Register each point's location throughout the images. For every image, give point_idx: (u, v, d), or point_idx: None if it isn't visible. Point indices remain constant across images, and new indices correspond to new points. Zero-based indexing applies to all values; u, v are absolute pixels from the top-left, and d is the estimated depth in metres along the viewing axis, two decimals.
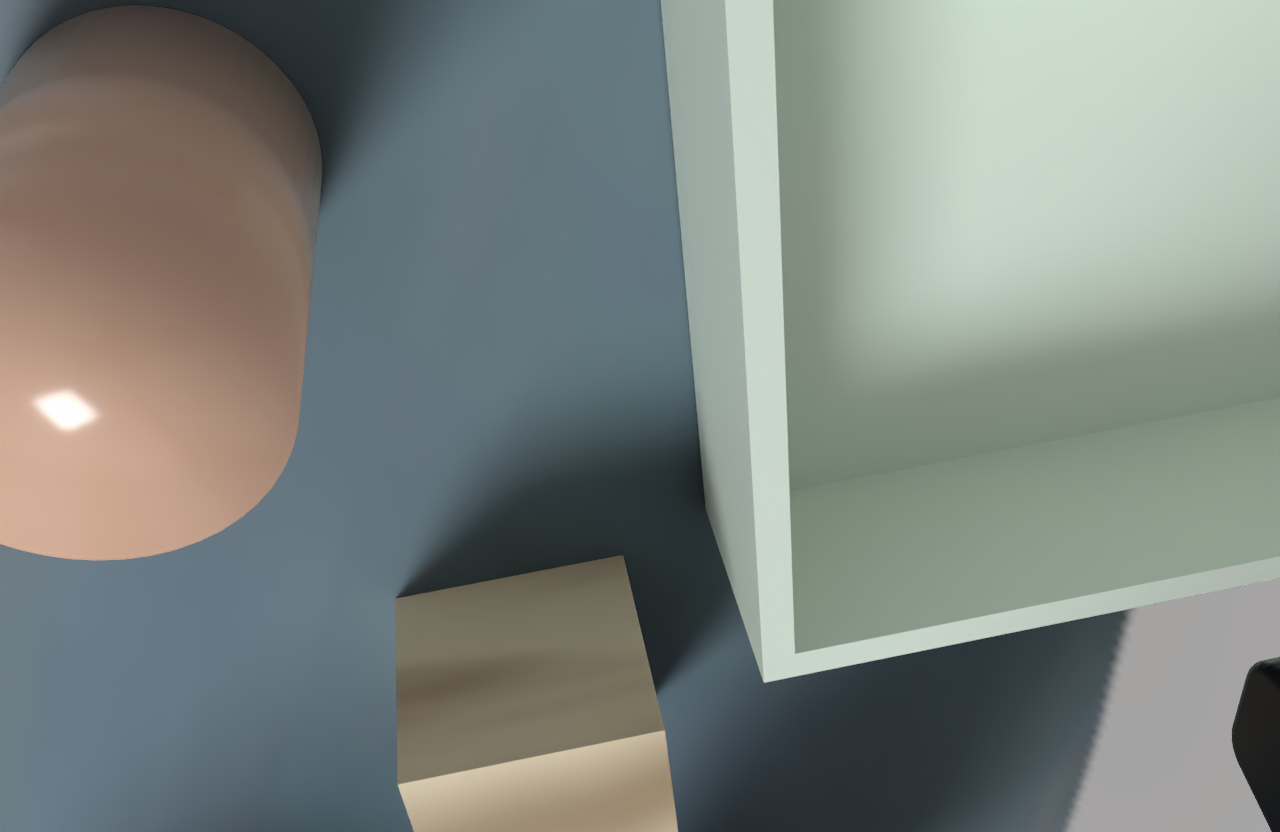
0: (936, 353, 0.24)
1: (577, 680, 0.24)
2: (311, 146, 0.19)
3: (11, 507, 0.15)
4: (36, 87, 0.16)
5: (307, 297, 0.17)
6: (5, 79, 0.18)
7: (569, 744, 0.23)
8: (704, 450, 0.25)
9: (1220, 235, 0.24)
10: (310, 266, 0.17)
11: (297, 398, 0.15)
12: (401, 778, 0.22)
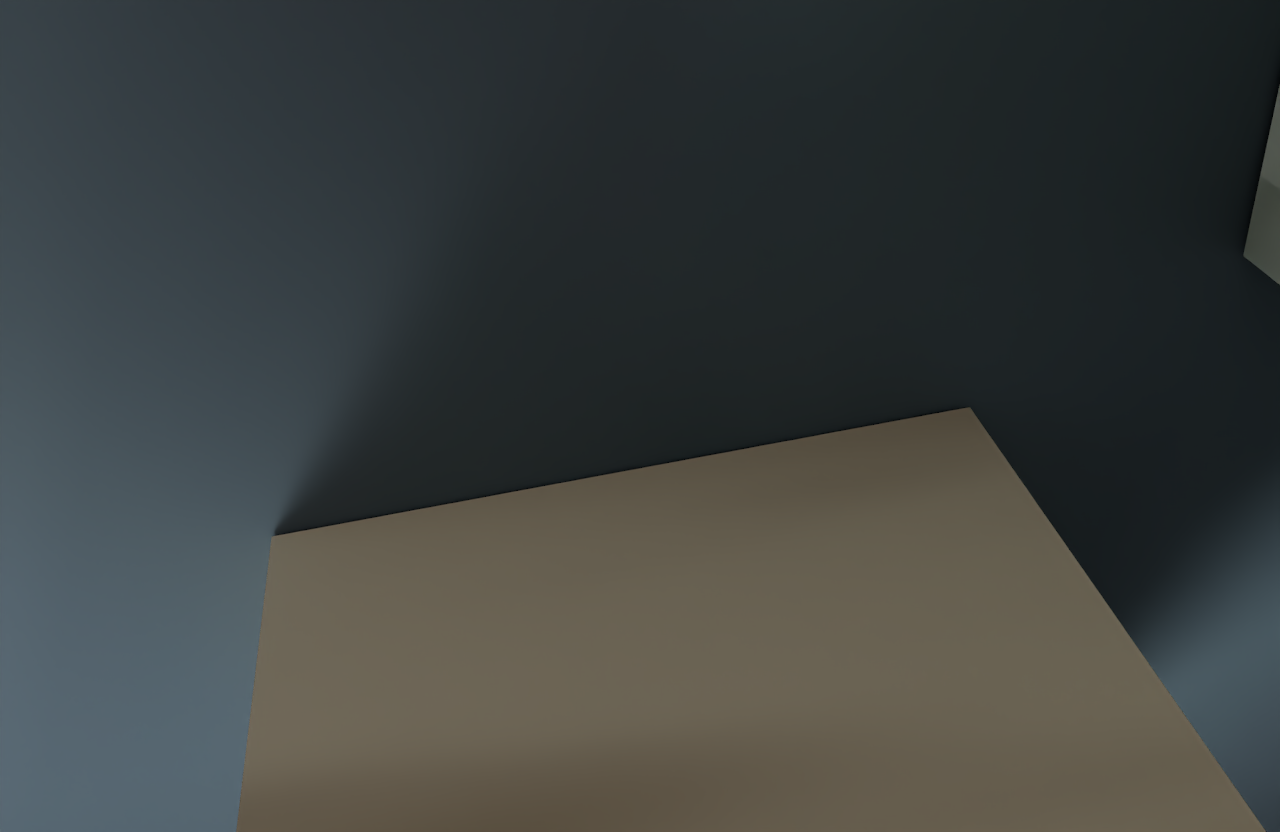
0: None
1: None
2: None
3: None
4: None
5: None
6: None
7: None
8: None
9: None
10: None
11: None
12: None
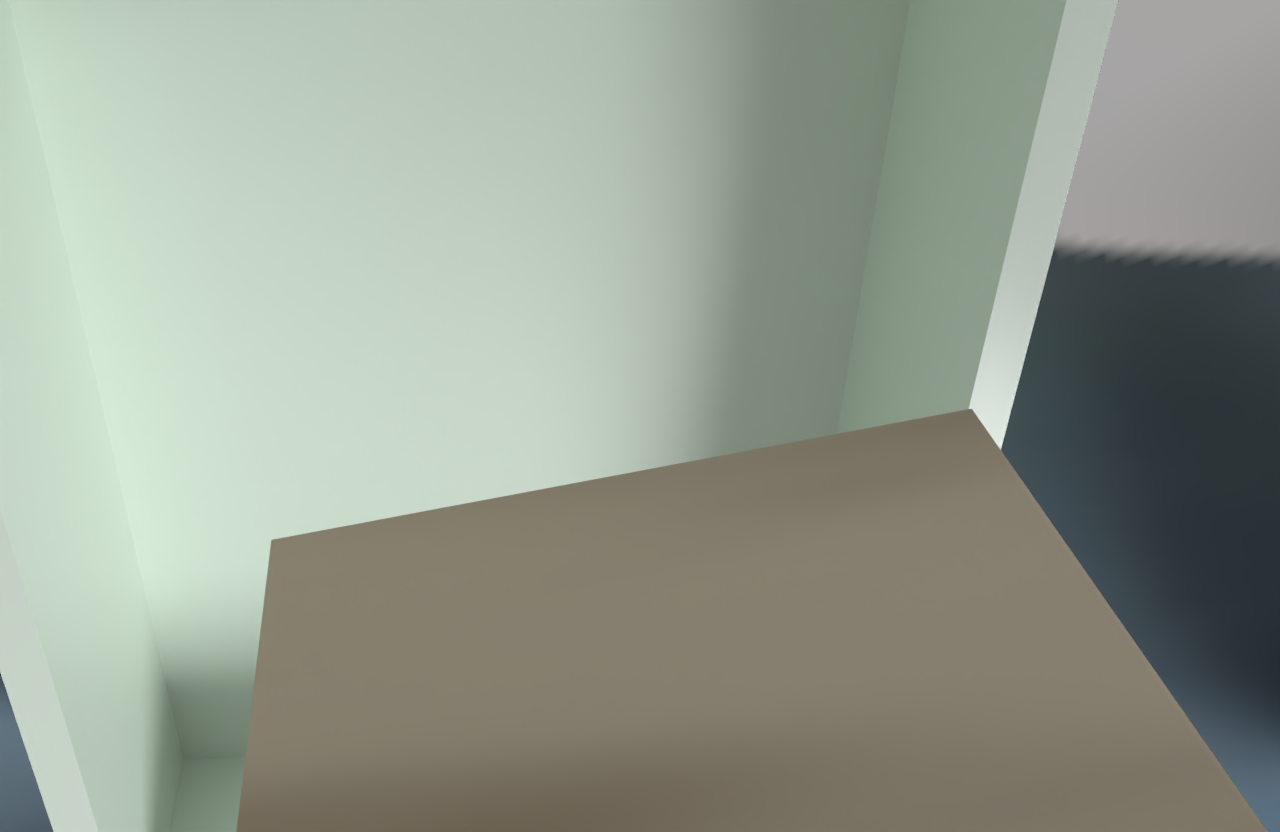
0: None
1: None
2: None
3: None
4: None
5: None
6: None
7: None
8: None
9: (594, 293, 0.19)
10: None
11: None
12: None
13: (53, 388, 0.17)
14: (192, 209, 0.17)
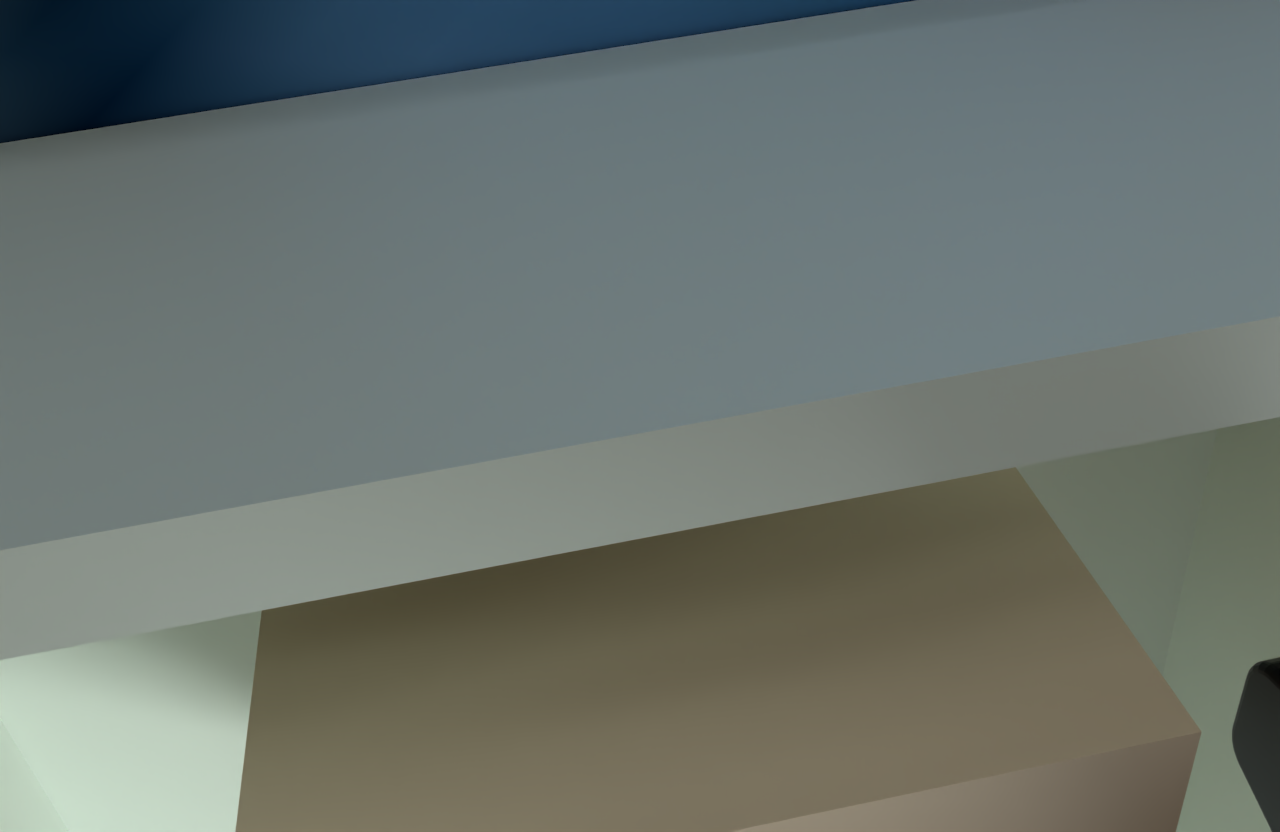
0: None
1: (835, 574, 0.07)
2: None
3: None
4: None
5: None
6: None
7: (859, 784, 0.06)
8: None
9: None
10: None
11: None
12: None
13: None
14: None
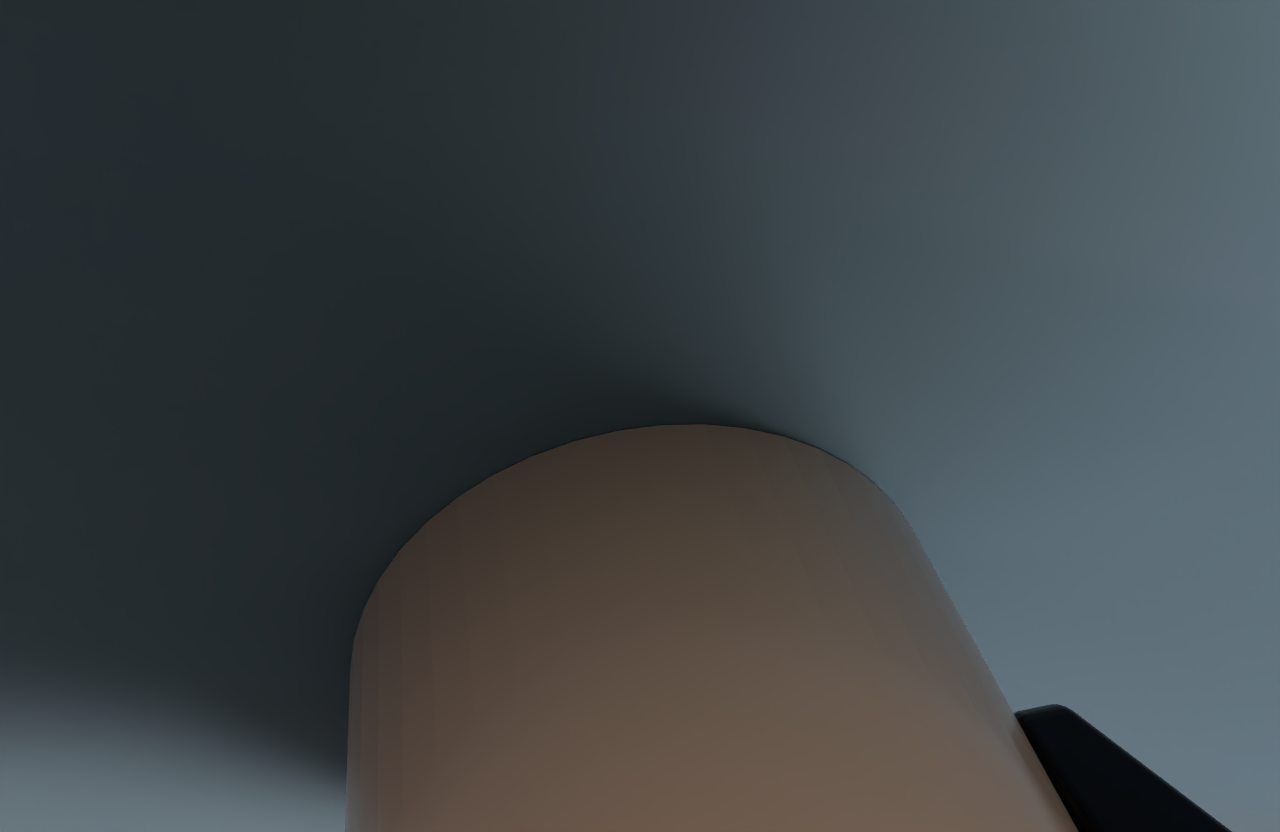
0: None
1: None
2: (612, 511, 0.08)
3: None
4: None
5: None
6: None
7: None
8: None
9: None
10: None
11: None
12: None
13: None
14: None
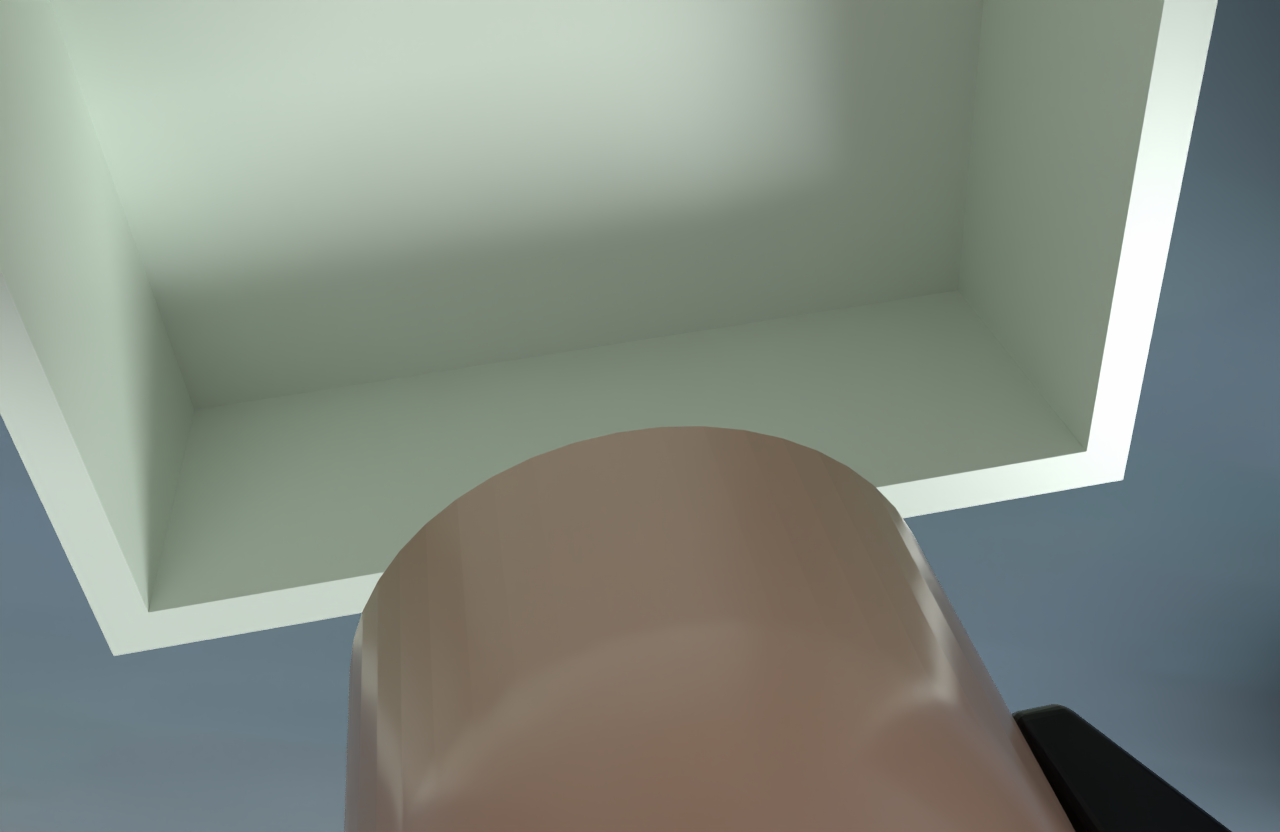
0: (785, 55, 0.17)
1: None
2: (611, 513, 0.08)
3: None
4: None
5: None
6: None
7: None
8: None
9: None
10: None
11: None
12: None
13: None
14: None
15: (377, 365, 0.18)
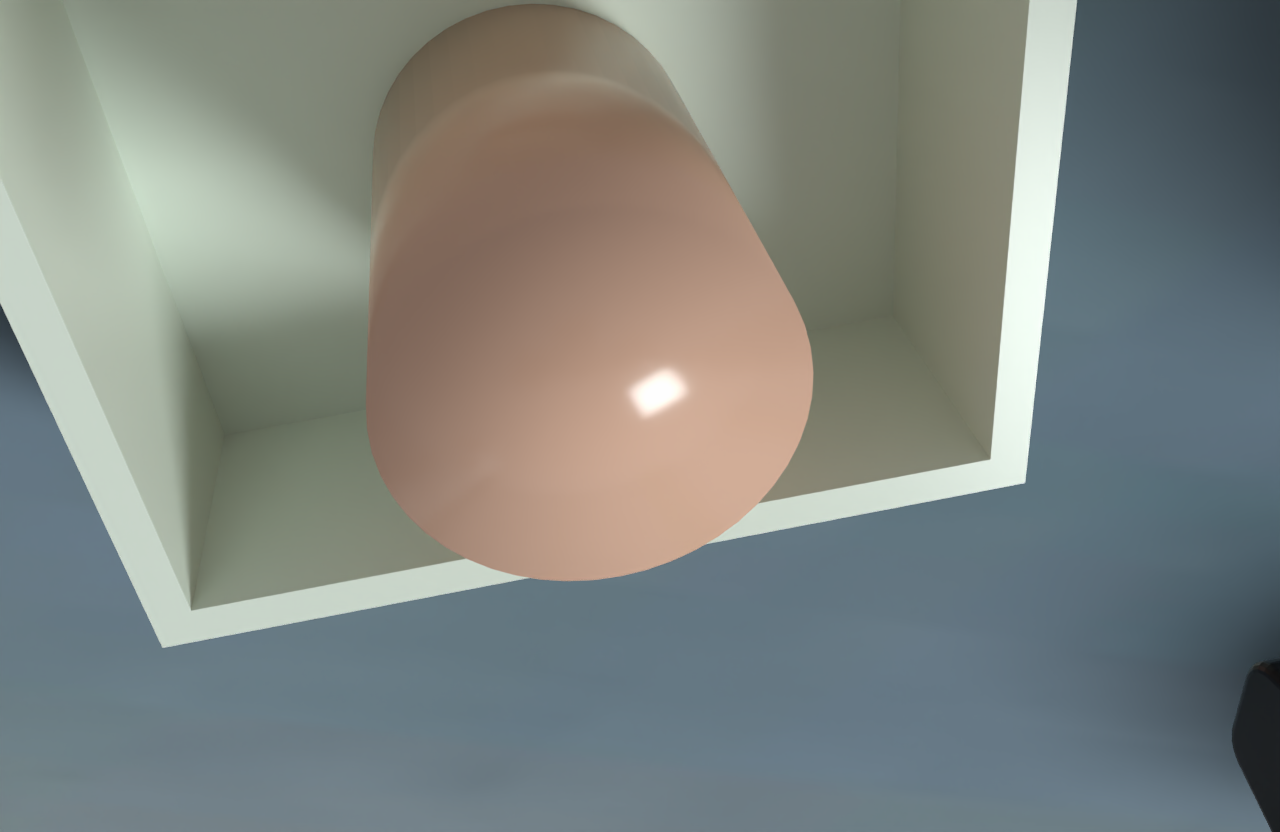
0: (728, 120, 0.19)
1: None
2: (501, 26, 0.17)
3: (721, 481, 0.14)
4: None
5: (574, 123, 0.14)
6: None
7: None
8: None
9: None
10: (565, 96, 0.15)
11: (616, 206, 0.12)
12: None
13: None
14: None
15: None
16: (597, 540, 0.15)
